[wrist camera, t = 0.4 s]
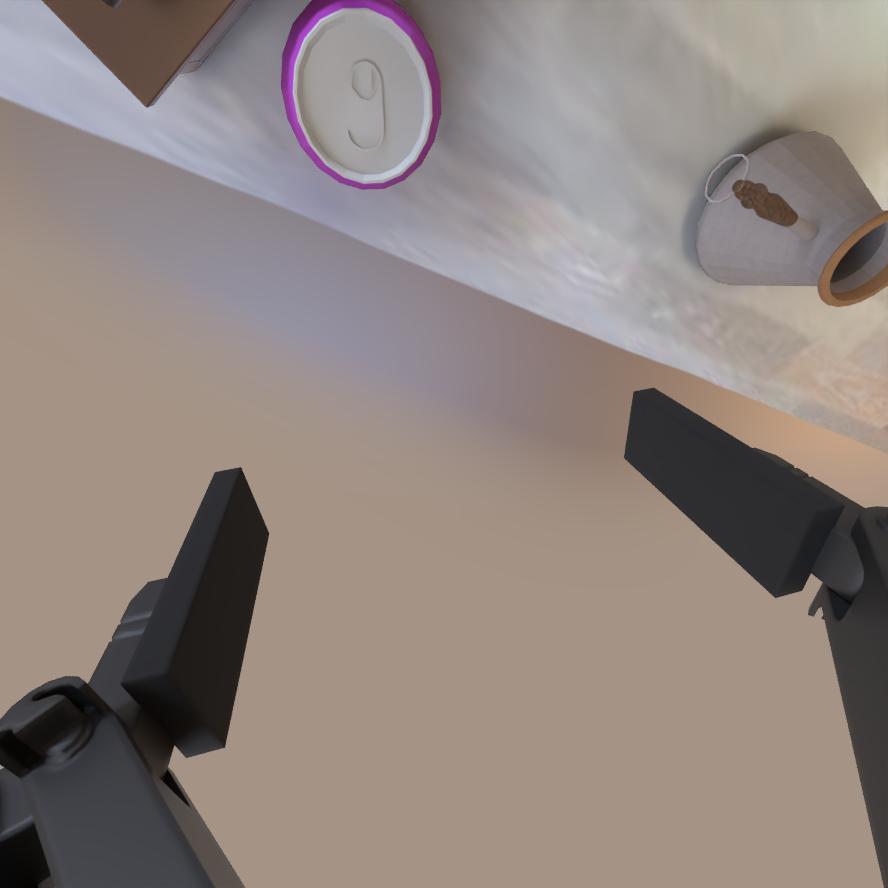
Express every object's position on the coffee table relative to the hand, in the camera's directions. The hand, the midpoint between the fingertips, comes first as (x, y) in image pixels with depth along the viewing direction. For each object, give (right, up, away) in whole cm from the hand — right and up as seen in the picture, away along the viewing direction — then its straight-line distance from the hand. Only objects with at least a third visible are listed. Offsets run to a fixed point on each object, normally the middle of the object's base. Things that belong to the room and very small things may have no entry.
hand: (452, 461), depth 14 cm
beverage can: (-6, +24, +14) cm, 28 cm away
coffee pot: (+22, +22, +21) cm, 38 cm away
